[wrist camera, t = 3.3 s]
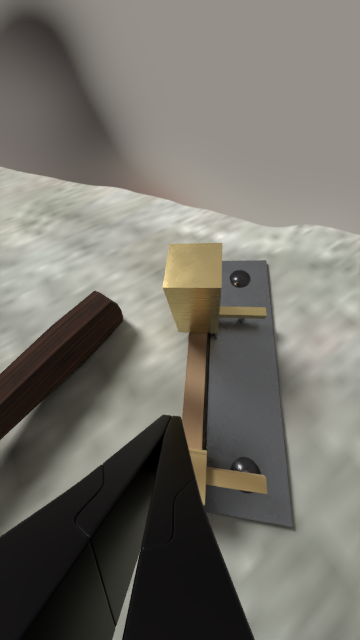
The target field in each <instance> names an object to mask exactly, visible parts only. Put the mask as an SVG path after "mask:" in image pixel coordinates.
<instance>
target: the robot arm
mask: <svg viewBox="0 0 360 640" xmlns="http://www.w3.org/2000/svg"><path fill="white" fill-rule="evenodd" d="M140 549H141V552H140ZM139 552H140V554H139ZM138 555H139V559H138ZM137 559H138V564H137V569H136V574H135V579H134V584H133V589H132V594H131V599H130V604H129V609H128V614H127V619H126V624H125V628H124V633H123V638H122V640H255V639H254V637H253V634H252V631H251V629H250V626H249V624H248V621H247V619H246V616H245V613H244V611H243V608H242V606H241V603H240V600H239V598H238V595H237V593H236V590H235V588H234V585H233V582H232V580H231V577H230V575H229V572H228V569H227V567H226V564H225V562H224V559H223V557H222V554H221V551H220V549H219V546H218V544H217V541H216V538H215V536H214V533H213V531H212V528H211V525H210V523H209V520H208V517H207V514H206V512H205V509H204V506H203V503H202V499H201V496H200V492H199V488H198V484H197V480H196V477H195V473H194V469H193V464H192V460H191V456H190V452H189V448H188V444H187V440H186V436H185V432H184V427H183V423H182V419H181V417H180V416H170V415H162V416H161V417H160V418H158V419H157V420H156V421H155V422H153V423H152V424H151V425H150V426H148V427H147V428H146V429H145V430H144V431H142V432H141V433H140V434H139V435H137V436H136V437H135V438H134V439H132V440H131V441H130V442H129V443H128V444H126V445H125V446H124V447H123V448H121V449H120V450H119V451H118V452H117V453H115V454H114V455H113V456H112V457H110V458H109V459H108V460H107V461H105V462H104V463H103V465H100V466H99V467H98V468H96V469H95V470H94V471H93V472H91V473H90V474H89V475H88V476H86V477H85V478H84V479H82V480H81V481H80V482H78V483H77V484H76V485H74V486H73V487H71V488H70V489H69V490H67V491H66V492H64V493H63V494H62V495H60V496H59V497H57V498H56V499H54V500H53V501H51V502H50V503H49V504H47V505H46V506H44V507H43V508H41V509H40V510H38V511H37V512H35V513H34V514H33V515H31V516H30V517H28V518H27V519H25V520H24V521H22V522H21V523H20V524H18V525H17V526H15V527H14V528H12V529H11V530H9V531H8V532H6V533H5V534H4V535H2V536H1V537H0V640H112V638H113V635H114V632H115V627H116V625H117V622H118V619H119V616H120V613H121V609H122V606H123V603H124V600H125V597H126V593H127V590H128V587H129V584H130V581H131V578H132V574H133V571H134V568H135V565H136V562H137Z"/></svg>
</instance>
